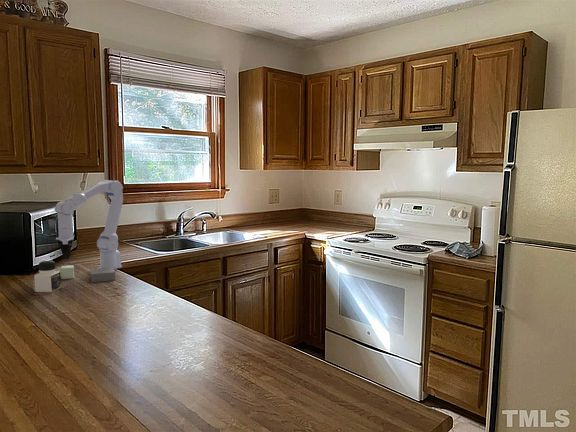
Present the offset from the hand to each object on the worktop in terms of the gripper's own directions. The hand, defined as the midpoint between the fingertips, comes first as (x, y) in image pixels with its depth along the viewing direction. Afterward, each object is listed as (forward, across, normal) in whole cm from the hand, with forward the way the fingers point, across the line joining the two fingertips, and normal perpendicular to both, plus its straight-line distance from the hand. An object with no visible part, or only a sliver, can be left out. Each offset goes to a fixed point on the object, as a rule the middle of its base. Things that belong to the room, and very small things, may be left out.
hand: (66, 257), depth 202 cm
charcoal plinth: (+10, +8, +15) cm, 19 cm away
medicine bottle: (+10, +19, -6) cm, 22 cm away
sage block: (+10, 0, 0) cm, 10 cm away
